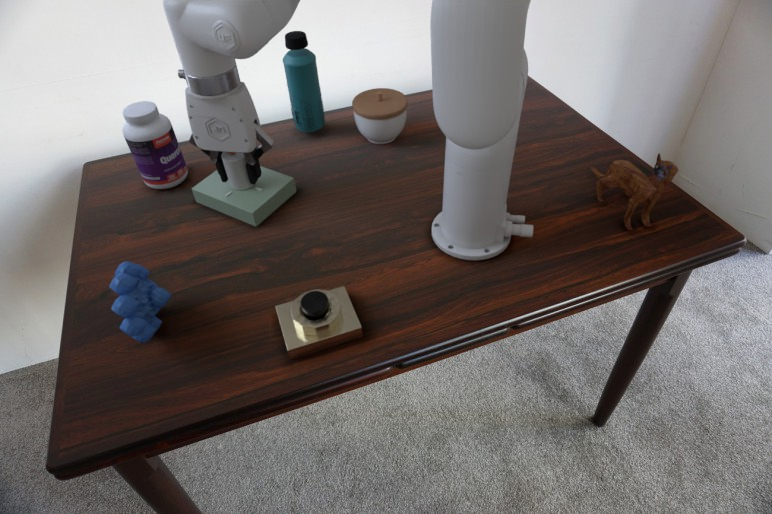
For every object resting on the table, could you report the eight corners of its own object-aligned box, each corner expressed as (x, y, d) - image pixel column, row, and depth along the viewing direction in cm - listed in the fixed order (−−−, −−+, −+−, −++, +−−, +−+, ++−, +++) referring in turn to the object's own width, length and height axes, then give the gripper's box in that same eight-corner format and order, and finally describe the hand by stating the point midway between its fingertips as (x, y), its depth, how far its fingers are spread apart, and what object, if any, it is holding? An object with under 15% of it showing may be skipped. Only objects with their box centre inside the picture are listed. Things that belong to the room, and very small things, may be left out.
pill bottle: (176, 194, 94) (148, 123, 84) (137, 189, 96) (104, 119, 86) (197, 168, 100) (172, 98, 90) (159, 164, 101) (130, 95, 91)
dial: (260, 179, 91) (253, 148, 87) (244, 193, 89) (235, 162, 84) (241, 172, 93) (233, 142, 89) (224, 186, 90) (215, 155, 86)
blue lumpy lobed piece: (184, 356, 69) (152, 296, 60) (131, 368, 68) (91, 309, 59) (186, 292, 77) (158, 232, 69) (138, 302, 76) (104, 242, 68)
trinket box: (408, 150, 102) (408, 106, 95) (353, 151, 102) (349, 107, 96) (407, 121, 109) (407, 79, 103) (356, 122, 110) (353, 80, 103)
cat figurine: (573, 176, 94) (591, 106, 84) (606, 170, 95) (628, 100, 85) (628, 241, 81) (657, 168, 72) (666, 234, 82) (700, 161, 73)
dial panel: (296, 191, 94) (293, 177, 91) (256, 227, 87) (252, 212, 85) (238, 170, 99) (234, 156, 97) (196, 202, 92) (190, 187, 90)
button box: (345, 295, 75) (343, 276, 73) (363, 337, 70) (360, 318, 67) (277, 315, 73) (272, 297, 70) (290, 360, 68) (284, 342, 65)
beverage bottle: (332, 127, 109) (321, 30, 95) (313, 142, 105) (297, 43, 91) (308, 119, 111) (293, 24, 97) (288, 134, 108) (269, 36, 94)
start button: (325, 296, 71) (323, 287, 70) (332, 315, 68) (331, 306, 67) (299, 303, 70) (297, 295, 69) (306, 323, 68) (304, 315, 66)
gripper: (148, 87, 76) (186, 188, 89) (258, 93, 74) (281, 195, 86) (172, 64, 81) (205, 163, 94) (275, 69, 79) (294, 169, 92)
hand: (241, 177), depth 90 cm, fingers closed on dial, 4 cm apart
